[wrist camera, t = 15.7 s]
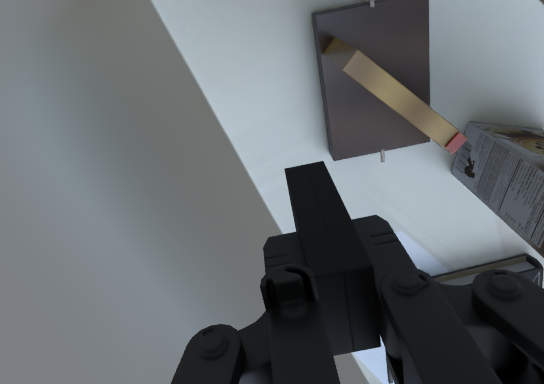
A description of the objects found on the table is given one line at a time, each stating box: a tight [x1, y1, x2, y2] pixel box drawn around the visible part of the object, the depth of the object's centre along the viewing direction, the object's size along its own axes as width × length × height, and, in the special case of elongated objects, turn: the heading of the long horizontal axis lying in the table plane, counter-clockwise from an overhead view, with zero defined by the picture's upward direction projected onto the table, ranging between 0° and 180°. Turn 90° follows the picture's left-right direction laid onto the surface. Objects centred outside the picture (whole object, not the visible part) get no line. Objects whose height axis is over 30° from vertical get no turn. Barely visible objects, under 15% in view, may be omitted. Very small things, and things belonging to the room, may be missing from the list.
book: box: [432, 254, 543, 287], centre depth 56 cm, size 22×15×3 cm
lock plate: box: [312, 0, 430, 162], centre depth 40 cm, size 16×10×2 cm, turn 11°
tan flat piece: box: [323, 37, 468, 155], centre depth 35 cm, size 12×2×8 cm, turn 55°
